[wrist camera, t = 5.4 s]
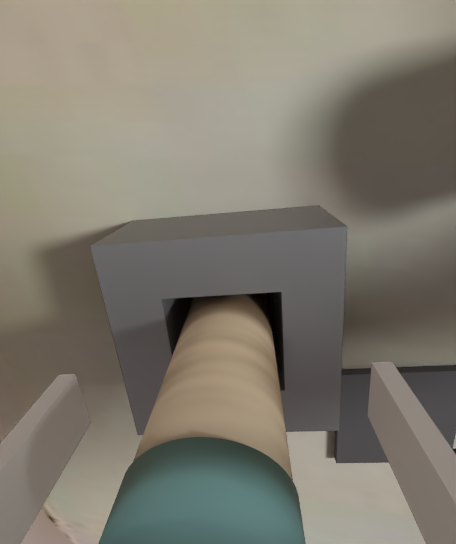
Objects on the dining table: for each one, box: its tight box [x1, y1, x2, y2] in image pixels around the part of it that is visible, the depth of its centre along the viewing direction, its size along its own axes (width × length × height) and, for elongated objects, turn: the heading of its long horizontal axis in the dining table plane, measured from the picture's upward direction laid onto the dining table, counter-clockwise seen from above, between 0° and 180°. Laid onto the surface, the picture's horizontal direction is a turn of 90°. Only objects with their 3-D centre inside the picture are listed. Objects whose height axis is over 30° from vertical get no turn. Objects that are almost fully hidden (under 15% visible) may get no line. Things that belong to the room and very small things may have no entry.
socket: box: [90, 205, 347, 435], centre depth 19 cm, size 12×12×6 cm
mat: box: [335, 365, 456, 463], centre depth 25 cm, size 9×9×1 cm
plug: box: [99, 293, 305, 544], centre depth 15 cm, size 5×5×16 cm
